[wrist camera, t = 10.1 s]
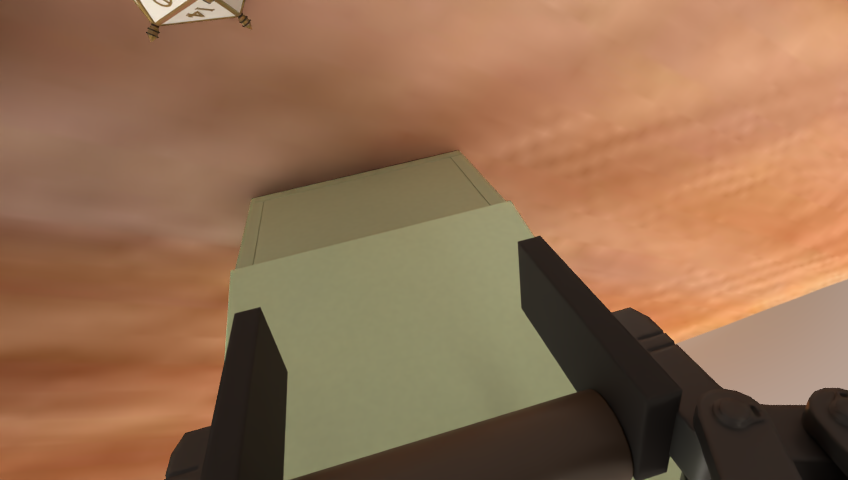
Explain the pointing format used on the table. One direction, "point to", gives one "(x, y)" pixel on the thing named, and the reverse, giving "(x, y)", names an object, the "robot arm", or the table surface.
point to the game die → (189, 12)
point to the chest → (362, 206)
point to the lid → (426, 361)
